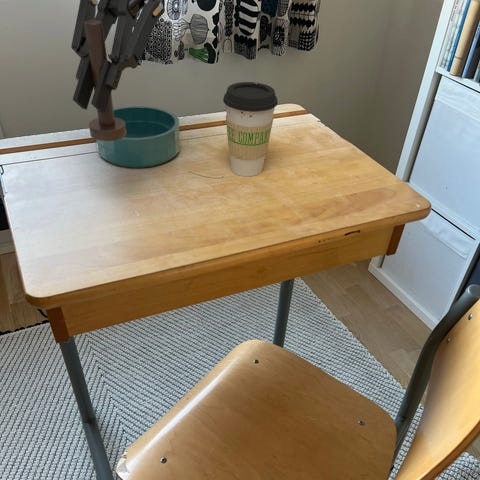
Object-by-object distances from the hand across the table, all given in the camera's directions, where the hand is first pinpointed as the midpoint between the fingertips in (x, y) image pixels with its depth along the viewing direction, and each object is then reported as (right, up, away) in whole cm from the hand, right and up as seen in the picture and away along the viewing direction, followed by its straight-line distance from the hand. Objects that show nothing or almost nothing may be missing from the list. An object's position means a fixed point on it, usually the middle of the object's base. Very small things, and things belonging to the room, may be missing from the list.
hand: (88, 106), depth 74 cm
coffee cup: (+23, -1, +27) cm, 35 cm away
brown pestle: (+1, -2, +6) cm, 7 cm away
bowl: (+1, +4, +31) cm, 31 cm away
